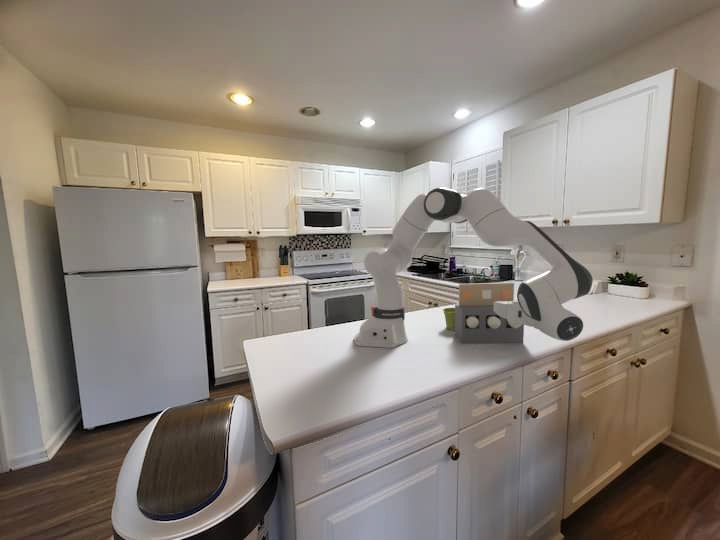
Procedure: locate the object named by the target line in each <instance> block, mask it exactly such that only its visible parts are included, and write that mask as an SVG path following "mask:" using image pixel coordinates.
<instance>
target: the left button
mask: <svg viewBox="0 0 720 540" xmlns="http://www.w3.org/2000/svg"><path fill="white" fill-rule="evenodd" d="M465 323H466V324H467V325H468V326H469V327H470V328H475V327H477V326H478V324H479V321H478V319H477V318H476V317H474V316H473V315H468V316H466V317H465Z"/></svg>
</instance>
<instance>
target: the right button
mask: <svg viewBox="0 0 720 540" xmlns="http://www.w3.org/2000/svg"><path fill="white" fill-rule="evenodd" d="M507 324H508V325H510V326H511V327H513V328H519V327H520V326H521V325H522V324H514V323H509V322H508V321H507Z"/></svg>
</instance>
